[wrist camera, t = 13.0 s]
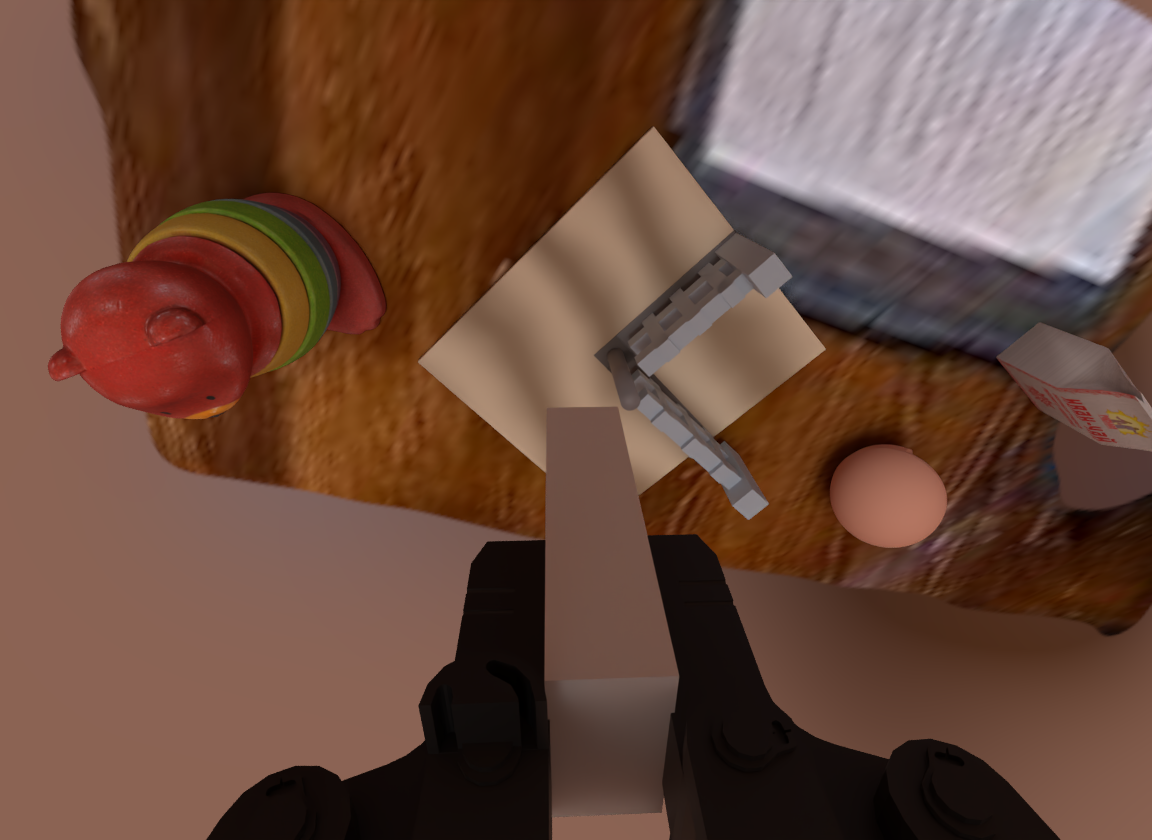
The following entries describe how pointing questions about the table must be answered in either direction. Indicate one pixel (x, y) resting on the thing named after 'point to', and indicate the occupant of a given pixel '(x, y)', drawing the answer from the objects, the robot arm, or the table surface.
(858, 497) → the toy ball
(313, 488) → the table surface
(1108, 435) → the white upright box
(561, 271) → the board
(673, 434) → the gray castle wall
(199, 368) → the stacking bear
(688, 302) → the fixed fence panel
